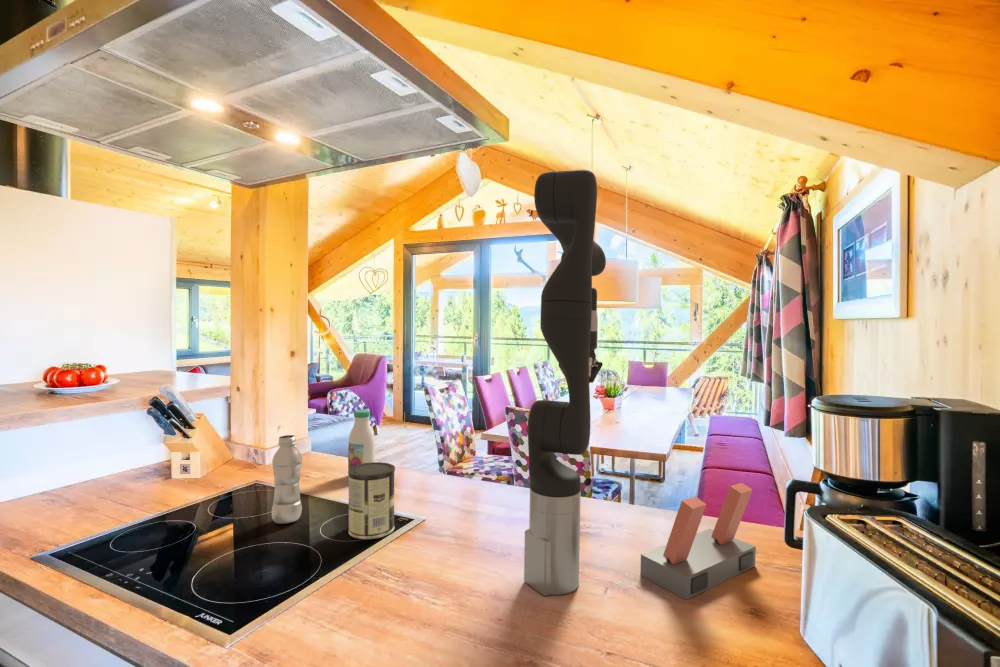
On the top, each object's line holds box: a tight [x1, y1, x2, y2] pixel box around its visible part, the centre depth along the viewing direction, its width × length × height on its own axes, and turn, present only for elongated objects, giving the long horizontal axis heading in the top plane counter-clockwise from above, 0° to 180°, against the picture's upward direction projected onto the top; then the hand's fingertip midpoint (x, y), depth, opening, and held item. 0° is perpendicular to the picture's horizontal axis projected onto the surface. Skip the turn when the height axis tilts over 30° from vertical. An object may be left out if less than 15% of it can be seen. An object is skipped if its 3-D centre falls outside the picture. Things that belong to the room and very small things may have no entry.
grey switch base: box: [640, 528, 757, 601], centre depth 97 cm, size 22×10×4 cm, turn 124°
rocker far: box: [711, 482, 753, 545], centre depth 100 cm, size 4×2×12 cm, turn 124°
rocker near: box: [663, 496, 707, 565], centre depth 91 cm, size 4×3×12 cm, turn 124°
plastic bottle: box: [271, 434, 303, 525], centre depth 118 cm, size 6×7×20 cm
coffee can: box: [347, 461, 396, 540], centre depth 114 cm, size 10×10×14 cm
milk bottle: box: [347, 409, 376, 477], centre depth 152 cm, size 8×8×20 cm
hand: (580, 400), depth 122 cm, fingers closed
